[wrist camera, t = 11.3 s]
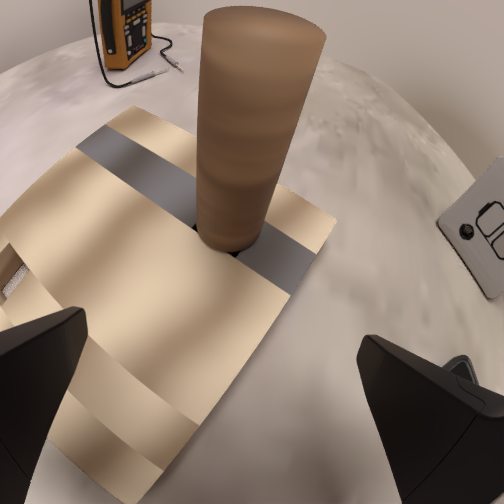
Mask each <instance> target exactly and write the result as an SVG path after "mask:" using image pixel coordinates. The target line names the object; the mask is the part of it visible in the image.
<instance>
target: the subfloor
mask: <svg viewBox="0 0 504 504" xmlns="http://www.w3.org/2000/svg"><path fill="white" fill-rule="evenodd" d="M196 156H197V137H196V136H194V135H192V134H190V133H188V132H187V131H185V130H183V129H181V128H179V127H177V126H175V125H173V124H171V123H169V122H167V121H165V120H163V119H161V118H159V117H157V116H155V115H153V114H151V113H149V112H147V111H145V110H143V109H140V108H138V107H136V106H134V105H133V106H131V107H130V108H128V109H127V110H125V111H124V112H122V113H121V114H119V115H118V116H116V117H115V118H114V119H112V120H111V121H109V122H108V123H106V124H105V125H104V126H102V127H101V128H100V129H98V130H97V131H95V132H94V133H93V134H91V135H90V136H89V137H88V138H86V139H85V140H84V141H82V142H81V143H80V144H79V145H77V146H76V147H75V148H74V149H72V150H71V151H70V152H69V153H67V154H66V155H65V156H64V157H63V158H61V159H60V160H59V161H58V162H57V163H56V164H54V165H53V166H52V167H51V168H50V169H49V170H48V171H47V172H45V173H44V174H43V175H42V176H41V177H40V178H39V179H38V180H37V181H36V182H35V183H34V184H32V185H31V186H30V187H29V188H28V189H27V190H26V191H25V192H24V193H23V194H22V195H21V196H20V197H19V198H18V199H17V200H16V201H15V202H14V203H13V204H12V205H11V207H10V208H9V209H8V210H7V211H6V212H5V213H4V214H3V215H2V216H1V217H0V332H1V331H3V330H6V329H9V328H12V327H15V326H17V325H20V324H23V323H26V322H29V321H32V320H34V319H37V318H40V317H43V316H46V315H49V314H51V313H54V312H57V311H60V310H63V309H66V308H69V307H71V306H76V307H81V308H84V310H85V312H86V319H87V326H88V337H87V340H86V343H85V346H84V348H83V351H82V354H81V357H80V359H79V362H78V365H77V368H76V371H75V373H74V376H73V378H72V380H71V382H70V385H69V387H68V389H67V391H66V393H65V395H64V398H63V400H62V402H61V404H60V407H59V409H58V411H57V414H56V416H55V418H54V421H53V423H52V425H51V428H50V430H49V433H48V435H47V437H48V438H49V439H50V440H51V441H52V442H53V443H54V444H55V445H56V446H57V447H58V448H59V449H60V450H61V451H62V452H63V453H64V454H65V455H66V456H67V457H68V458H69V459H70V460H71V461H72V462H73V463H74V464H75V465H77V466H78V467H79V468H80V469H81V470H82V471H83V472H85V473H86V474H87V475H88V476H89V477H90V478H92V479H93V480H94V481H95V482H96V483H98V484H99V485H100V486H101V487H103V488H104V489H105V490H106V491H108V492H109V493H110V494H112V495H113V496H114V497H116V498H117V499H118V500H120V501H121V502H123V503H124V504H137V503H138V501H139V500H140V499H141V498H142V497H143V496H144V494H145V493H146V492H147V491H148V490H149V489H150V487H151V486H152V485H153V484H154V483H155V481H156V480H157V479H158V478H159V477H160V475H161V474H162V473H163V472H164V470H165V469H166V468H167V467H168V466H169V464H170V463H171V462H172V461H173V459H174V458H175V457H176V456H177V454H178V453H179V452H180V451H181V449H182V448H183V447H184V445H185V444H186V443H187V442H188V440H189V439H190V438H191V436H192V435H193V434H194V433H195V431H196V430H197V429H198V427H199V426H200V425H201V423H202V422H203V421H204V419H205V418H206V417H207V415H208V414H209V413H210V411H211V410H212V409H213V407H214V406H215V405H216V403H217V402H218V401H219V399H220V398H221V397H222V395H223V394H224V392H225V391H226V390H227V388H228V387H229V385H230V384H231V383H232V381H233V380H234V378H235V377H236V376H237V374H238V373H239V371H240V370H241V369H242V367H243V366H244V364H245V363H246V361H247V360H248V359H249V357H250V356H251V354H252V353H253V351H254V350H255V349H256V347H257V346H258V344H259V343H260V341H261V340H262V338H263V337H264V335H265V334H266V332H267V331H268V329H269V328H270V326H271V325H272V323H273V322H274V320H275V319H276V317H277V316H278V314H279V313H280V311H281V310H282V308H283V307H284V305H285V304H286V302H287V301H288V299H289V297H290V296H291V294H292V293H293V291H294V290H295V288H296V287H297V285H298V283H299V282H300V280H301V279H302V277H303V276H304V274H305V272H306V271H307V269H308V268H309V266H310V264H311V263H312V261H313V260H314V258H315V256H316V255H317V253H318V251H319V250H320V248H321V246H322V245H323V243H324V242H325V240H326V238H327V237H328V235H329V233H330V232H331V230H332V228H333V227H334V225H335V223H336V221H337V220H336V219H334V218H333V217H331V216H330V215H328V214H327V213H325V212H324V211H322V210H321V209H319V208H318V207H316V206H314V205H313V204H311V203H310V202H308V201H306V200H305V199H303V198H302V197H300V196H299V195H297V194H295V193H294V192H292V191H290V190H289V189H287V188H286V187H284V186H282V185H281V184H279V183H277V185H276V188H275V191H274V193H273V196H272V199H271V202H270V205H269V208H268V211H267V214H266V217H265V220H264V223H263V226H262V229H261V232H260V235H259V237H258V238H257V240H256V241H255V242H254V243H253V244H252V245H251V246H249V247H248V248H246V249H243V250H242V251H241V252H240V253H239V254H238V256H237V257H236V258H234V257H233V256H231V255H230V254H228V253H227V252H225V251H220V250H217V249H215V248H212V247H211V246H209V245H208V244H207V243H205V242H204V241H203V239H202V238H201V237H200V235H199V233H198V230H197V226H196ZM23 263H25V264H26V265H27V267H28V268H29V269H30V271H29V272H28V273H27V274H26V276H25V277H24V278H23V279H22V281H21V282H20V283H19V284H18V286H17V287H16V288H15V289H14V291H13V292H12V293H11V294H10V296H9V297H8V298H6V297H5V295H4V294H3V292H2V291H1V290H2V289H3V287H4V286H5V285H6V284H7V282H8V281H9V280H10V279H11V277H12V276H13V275H14V274H15V272H16V271H17V270H18V269H19V267H20V266H21V265H22V264H23Z"/></svg>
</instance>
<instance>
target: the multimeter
mask: <svg viewBox="0 0 504 504" xmlns="http://www.w3.org/2000/svg"><path fill="white" fill-rule="evenodd" d="M89 4H90V13H91V20H92V27H93V34H94V40H95V45H96V51H97V56H98V60H99V64H100V68H101V71H102V74H103V77H104V79H105V81H106V83H107V84H109V85H111V86H113V87H116V88H119V87H123V86H126V85H128V84H131V83H136V82H138V81H141V80H144V79H146V78H149V77H152V76H155V74H156V73H159V72H162V71H165V70H167V69H169V68H166V69H163V70H160V71H157V72H154V71H152V72H151V73H148V74H145V75H143V76H140V77H138V78H135V79H133V80H132V81H131V82H128V83H126V84H123V85H119V86H118V85H114V84H112V83H110V82H109V81H108V80H107V78H106V76H105V73H104V70H103V66H102V62H101V58H100V53H99V48H98V42H97V36H96V30H95V23H94V16H93V7H92V0H89ZM98 9H99V21H100V30H101V38H102V46H103V53H104V60H105V67H106V68H114V69H126V68H127V67H128V66H129V64H130V63H131V62H133V61H134V60H135V59H136V58H137V57H138V56H140V55H141V54H142V53H143V52H144V51H147V50H148V49H149V48H150V47H151V45H152V42H151V36H153V37H155V38H161V39H166V40H168V41H170V43H171V44H170V45H169V46H168V47H166V48H164V49H162V50H161V51H160V53H161V54H162V55H163V56H164V57H165V58H166V59H167V60H168V61H169V62H170V63H172V64H173V65H174V66H175V67H179V68H180V69H181V70H183V69H182V68H181V67H180V66H179V65H178V62H176V61H174V60H173V59H172V58H171V57H169V56H166V55H165V54H164V53H162V51H163V50H165V49H167V48H169V47H171V46H172V41H171V40H170V39H167V38H164V37H158V36H154V35H152V33H151V0H98ZM183 71H184V70H183Z"/></svg>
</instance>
